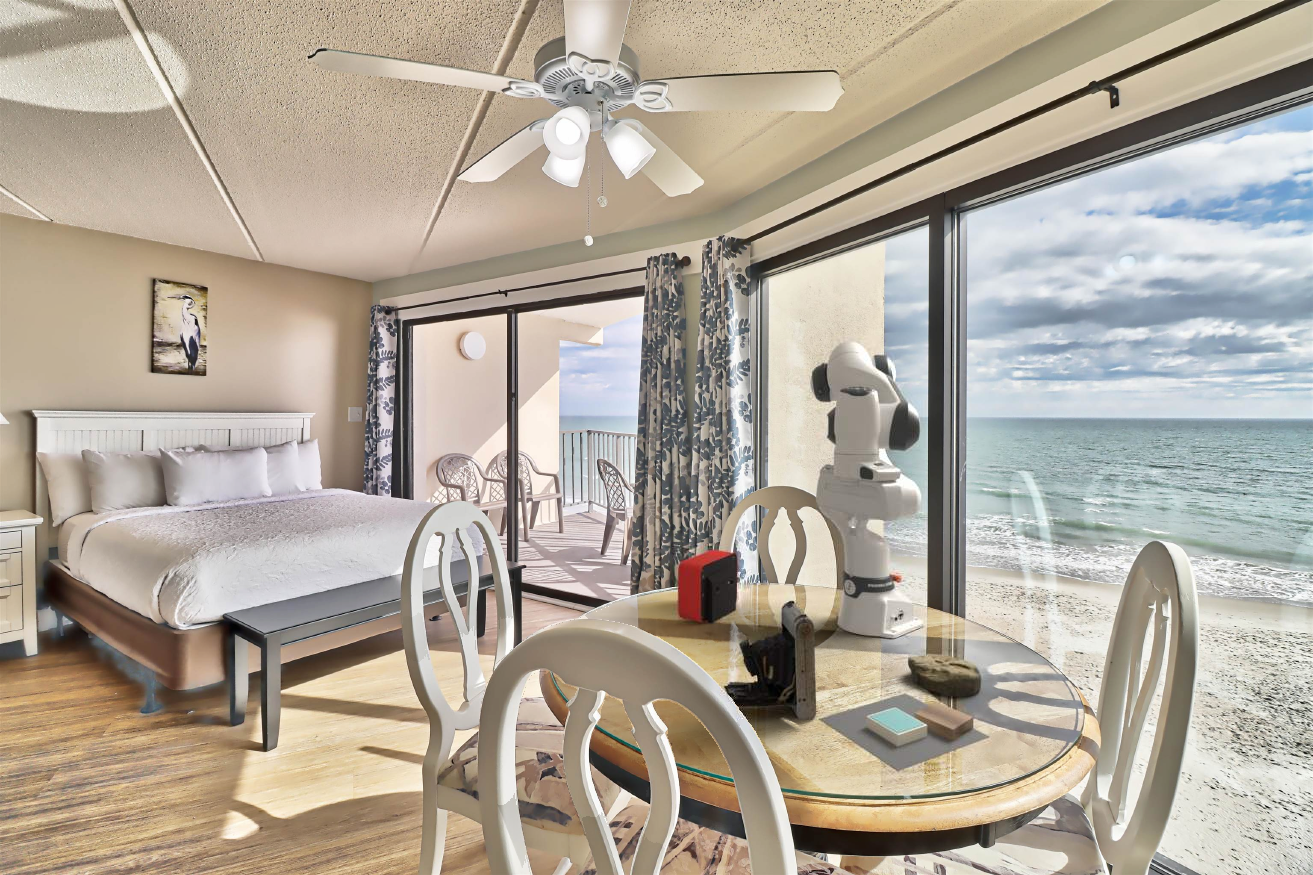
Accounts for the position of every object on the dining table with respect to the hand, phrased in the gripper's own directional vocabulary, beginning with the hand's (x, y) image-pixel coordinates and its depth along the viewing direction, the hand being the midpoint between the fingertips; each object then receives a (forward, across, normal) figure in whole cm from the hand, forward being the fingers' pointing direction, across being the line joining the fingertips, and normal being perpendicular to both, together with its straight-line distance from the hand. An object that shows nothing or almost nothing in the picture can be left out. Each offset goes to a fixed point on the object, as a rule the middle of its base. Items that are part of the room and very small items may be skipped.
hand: (855, 535), depth 126 cm
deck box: (+30, +14, -7) cm, 33 cm away
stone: (+32, +8, +17) cm, 37 cm away
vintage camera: (+31, +1, -22) cm, 38 cm away
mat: (+31, +17, -5) cm, 36 cm away
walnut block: (+30, +20, +2) cm, 36 cm away
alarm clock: (+31, -51, -2) cm, 60 cm away
